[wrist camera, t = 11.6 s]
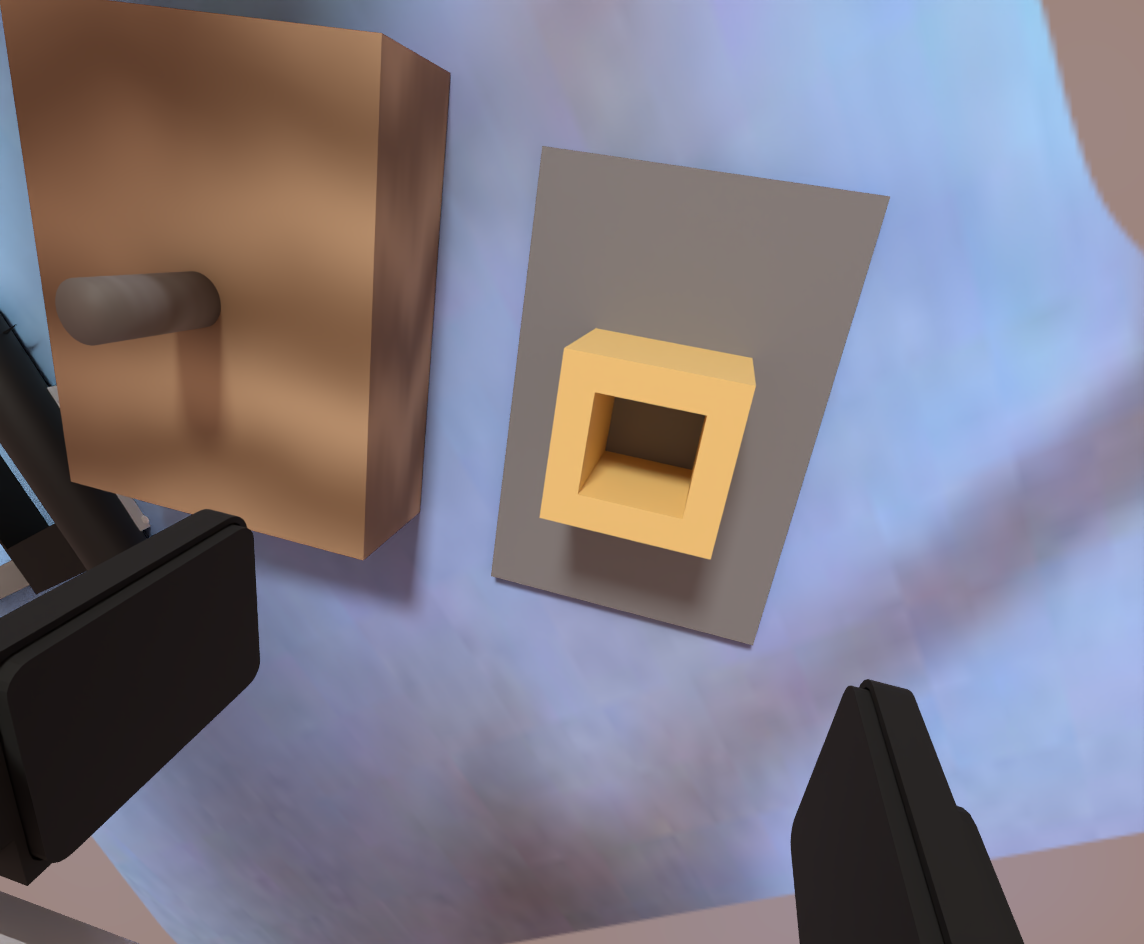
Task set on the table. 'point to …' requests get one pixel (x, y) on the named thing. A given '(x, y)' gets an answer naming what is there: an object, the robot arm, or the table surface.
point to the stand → (235, 258)
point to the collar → (633, 485)
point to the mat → (693, 318)
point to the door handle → (49, 488)
